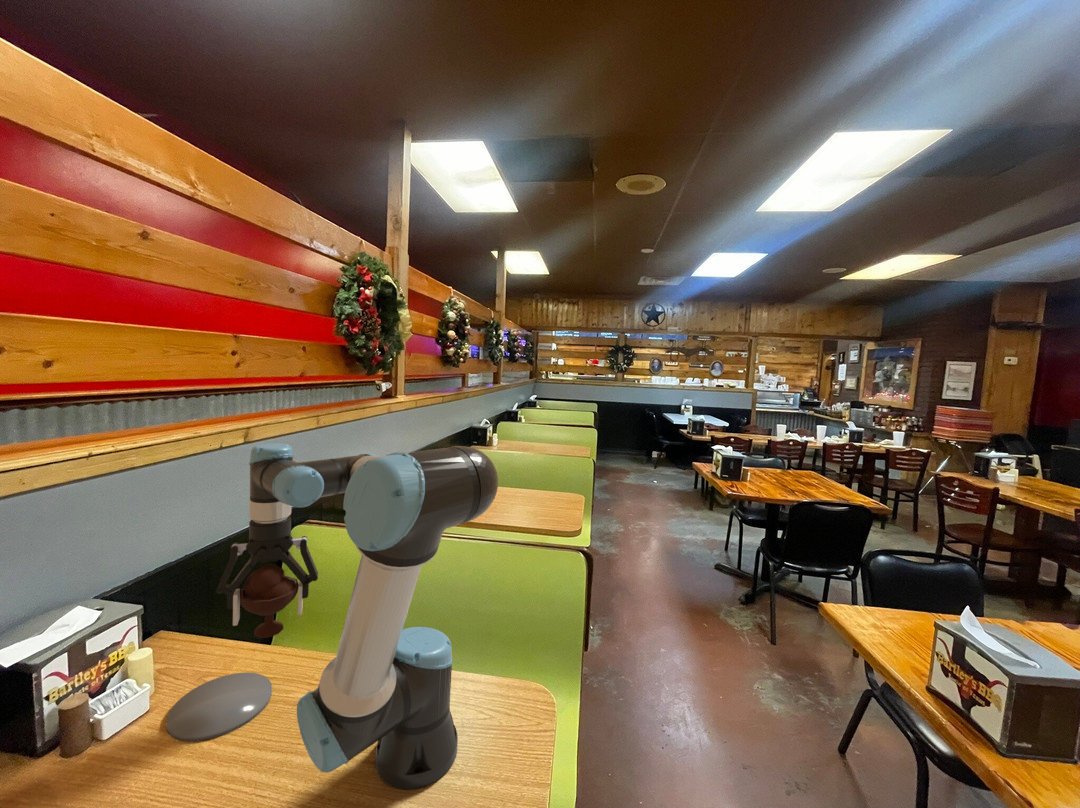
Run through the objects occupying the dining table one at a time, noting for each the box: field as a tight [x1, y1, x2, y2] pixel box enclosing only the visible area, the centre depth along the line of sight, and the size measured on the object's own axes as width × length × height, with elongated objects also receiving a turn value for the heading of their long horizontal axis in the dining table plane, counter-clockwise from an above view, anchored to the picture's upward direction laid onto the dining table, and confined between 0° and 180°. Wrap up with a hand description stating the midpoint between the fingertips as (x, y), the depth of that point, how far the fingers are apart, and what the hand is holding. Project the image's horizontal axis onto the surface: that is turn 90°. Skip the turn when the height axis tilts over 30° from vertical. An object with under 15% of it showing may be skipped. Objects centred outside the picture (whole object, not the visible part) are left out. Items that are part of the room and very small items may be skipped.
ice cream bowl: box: [240, 563, 299, 639], centre depth 94 cm, size 11×11×15 cm
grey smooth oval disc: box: [165, 672, 273, 742], centre depth 93 cm, size 18×18×1 cm
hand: (269, 616), depth 94 cm, fingers closed on ice cream bowl, 11 cm apart
